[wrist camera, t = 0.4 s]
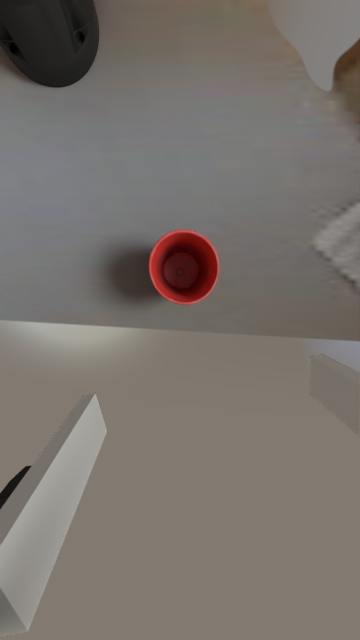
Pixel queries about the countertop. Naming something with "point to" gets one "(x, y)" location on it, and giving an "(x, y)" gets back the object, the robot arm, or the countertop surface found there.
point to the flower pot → (183, 266)
